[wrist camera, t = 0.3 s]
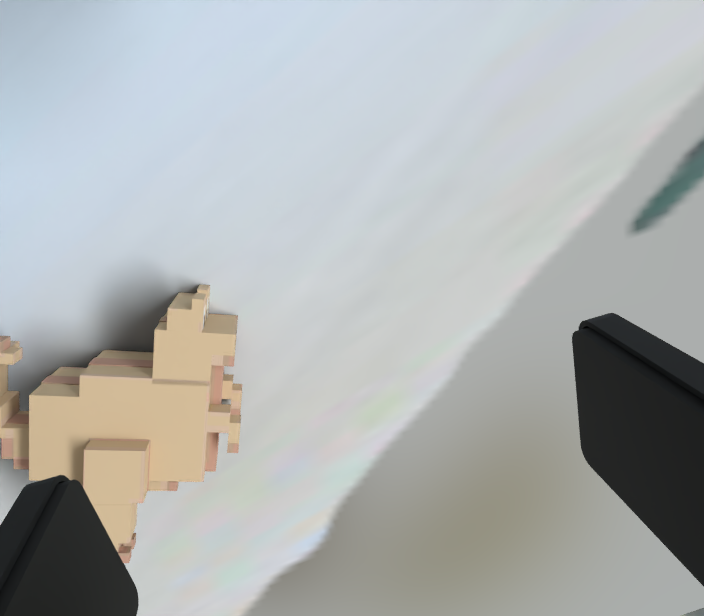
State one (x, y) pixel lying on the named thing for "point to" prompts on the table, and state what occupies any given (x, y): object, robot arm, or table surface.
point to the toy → (130, 415)
